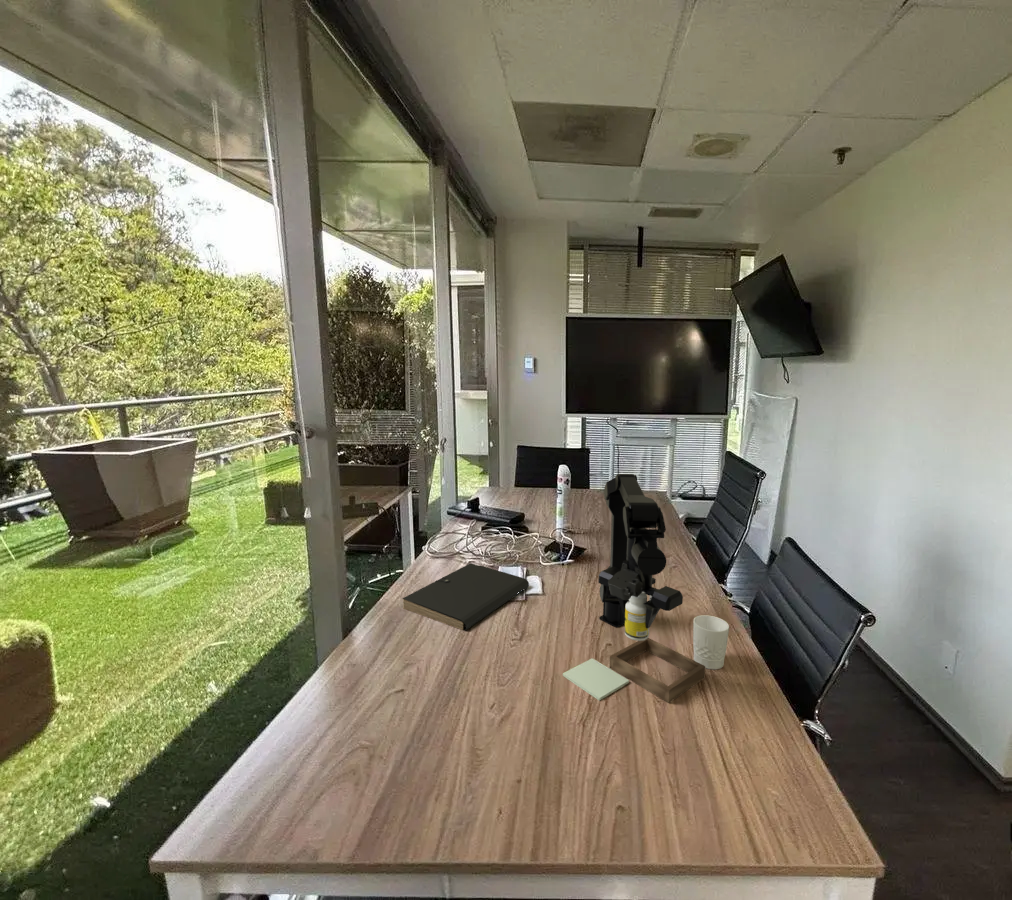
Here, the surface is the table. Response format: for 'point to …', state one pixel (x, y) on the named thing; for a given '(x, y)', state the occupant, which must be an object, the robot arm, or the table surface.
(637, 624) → the supplement bottle
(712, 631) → the white cup
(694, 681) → the wooden frame
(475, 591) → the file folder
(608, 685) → the sage tile
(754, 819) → the table surface
